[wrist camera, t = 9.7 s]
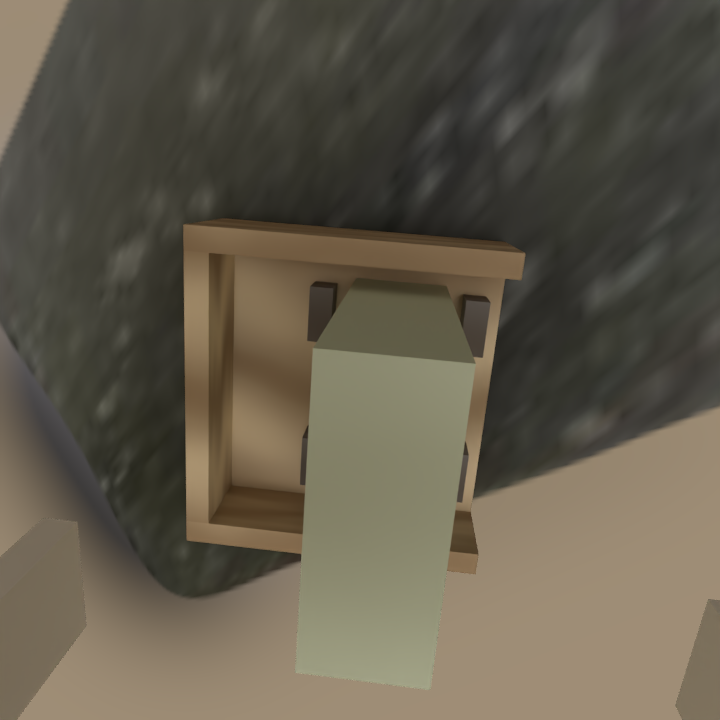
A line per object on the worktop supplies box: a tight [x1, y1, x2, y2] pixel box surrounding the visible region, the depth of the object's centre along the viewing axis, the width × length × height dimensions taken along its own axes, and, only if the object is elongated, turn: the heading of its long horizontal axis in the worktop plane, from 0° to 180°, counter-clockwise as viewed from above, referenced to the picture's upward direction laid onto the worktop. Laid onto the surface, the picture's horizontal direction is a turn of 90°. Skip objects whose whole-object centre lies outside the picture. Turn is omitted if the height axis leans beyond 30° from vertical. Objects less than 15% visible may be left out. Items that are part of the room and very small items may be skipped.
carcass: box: [183, 218, 526, 574], centre depth 26 cm, size 14×13×5 cm
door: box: [295, 278, 476, 690], centre depth 21 cm, size 10×5×12 cm, turn 176°
